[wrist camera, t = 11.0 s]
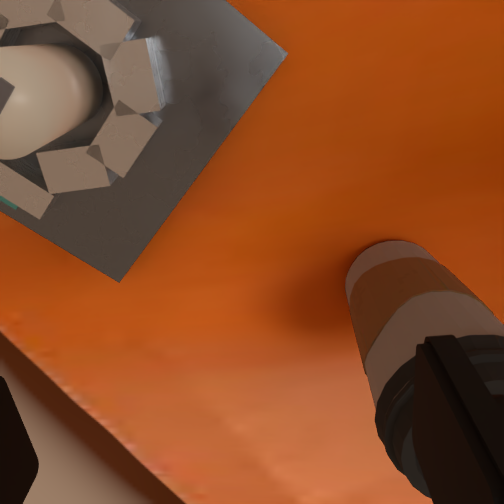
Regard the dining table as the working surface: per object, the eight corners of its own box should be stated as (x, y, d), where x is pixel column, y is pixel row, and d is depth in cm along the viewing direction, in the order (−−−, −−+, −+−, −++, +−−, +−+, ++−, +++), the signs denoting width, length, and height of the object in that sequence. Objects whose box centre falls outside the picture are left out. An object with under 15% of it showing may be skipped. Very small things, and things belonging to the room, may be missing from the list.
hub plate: (-12, -201, 22) (-47, -232, 20) (286, 52, 27) (291, 55, 25) (-142, 114, 28) (-183, 123, 26) (122, 275, 33) (111, 298, 31)
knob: (46, 25, 26) (-35, 23, 18) (117, 78, 27) (68, 97, 19) (3, 104, 27) (-88, 132, 20) (71, 151, 28) (10, 194, 21)
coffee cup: (410, 341, 36) (512, 530, 23) (310, 307, 35) (354, 488, 21) (471, 247, 33) (633, 403, 19) (363, 205, 31) (455, 342, 18)
